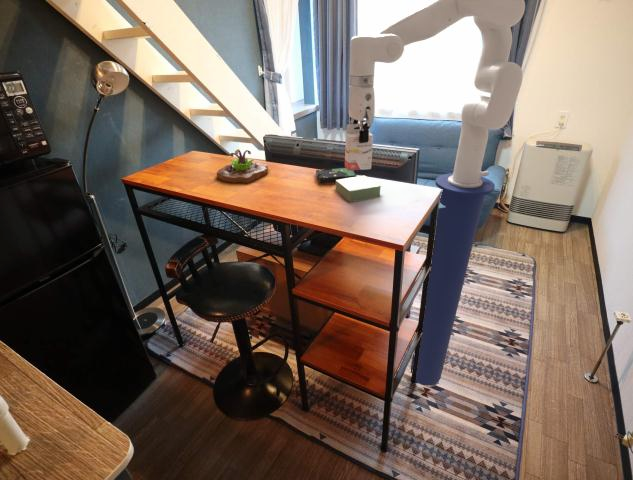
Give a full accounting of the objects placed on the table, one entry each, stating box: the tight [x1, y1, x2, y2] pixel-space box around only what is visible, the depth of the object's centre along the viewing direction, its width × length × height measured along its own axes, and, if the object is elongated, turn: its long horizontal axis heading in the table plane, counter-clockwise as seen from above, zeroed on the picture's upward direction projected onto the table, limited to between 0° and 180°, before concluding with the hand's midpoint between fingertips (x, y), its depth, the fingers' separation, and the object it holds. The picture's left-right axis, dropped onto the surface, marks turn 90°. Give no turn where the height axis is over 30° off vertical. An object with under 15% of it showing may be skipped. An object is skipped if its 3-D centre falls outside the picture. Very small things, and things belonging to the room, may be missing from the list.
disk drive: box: [315, 167, 357, 185], centre depth 139 cm, size 10×3×15 cm
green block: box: [335, 175, 382, 203], centre depth 125 cm, size 12×12×4 cm
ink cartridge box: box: [344, 123, 374, 171], centre depth 117 cm, size 9×5×15 cm, turn 100°
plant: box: [216, 149, 269, 184], centre depth 143 cm, size 20×20×11 cm
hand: (359, 139), depth 116 cm, fingers closed on ink cartridge box, 5 cm apart
